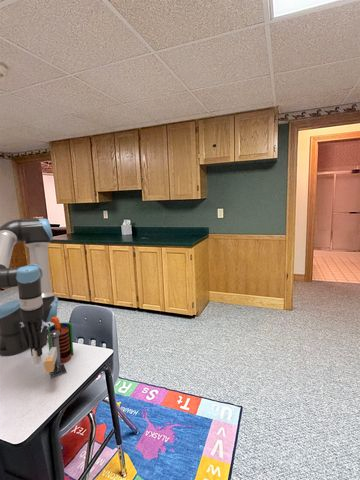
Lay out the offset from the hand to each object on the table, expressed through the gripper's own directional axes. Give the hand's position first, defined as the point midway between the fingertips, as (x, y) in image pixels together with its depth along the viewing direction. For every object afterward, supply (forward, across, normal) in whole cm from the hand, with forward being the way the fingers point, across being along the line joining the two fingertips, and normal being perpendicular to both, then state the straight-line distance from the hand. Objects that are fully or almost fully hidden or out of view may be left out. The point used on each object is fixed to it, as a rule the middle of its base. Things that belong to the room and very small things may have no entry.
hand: (37, 362), depth 104 cm
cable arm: (+1, +5, +1) cm, 6 cm away
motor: (+10, -2, +17) cm, 19 cm away
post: (+10, +2, +8) cm, 13 cm away
